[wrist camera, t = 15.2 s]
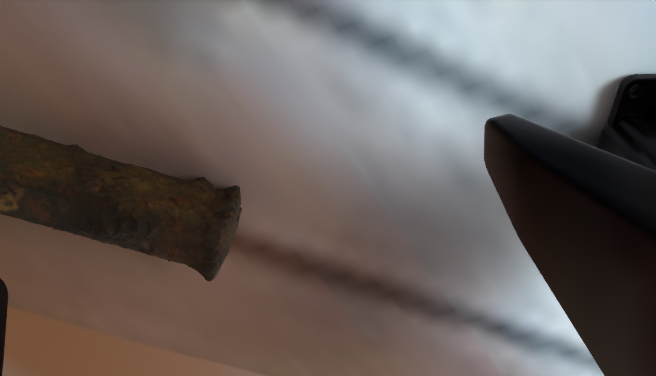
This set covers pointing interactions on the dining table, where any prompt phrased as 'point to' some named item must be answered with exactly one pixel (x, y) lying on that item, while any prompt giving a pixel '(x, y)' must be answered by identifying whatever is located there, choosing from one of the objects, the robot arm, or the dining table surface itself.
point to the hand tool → (117, 202)
